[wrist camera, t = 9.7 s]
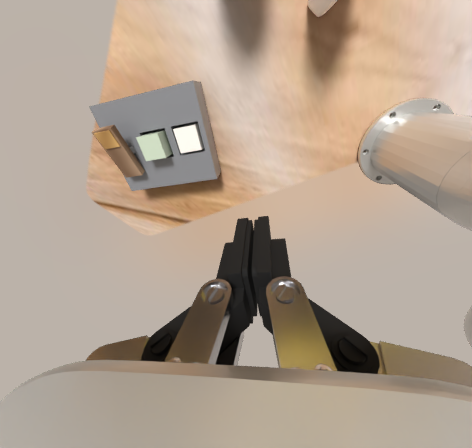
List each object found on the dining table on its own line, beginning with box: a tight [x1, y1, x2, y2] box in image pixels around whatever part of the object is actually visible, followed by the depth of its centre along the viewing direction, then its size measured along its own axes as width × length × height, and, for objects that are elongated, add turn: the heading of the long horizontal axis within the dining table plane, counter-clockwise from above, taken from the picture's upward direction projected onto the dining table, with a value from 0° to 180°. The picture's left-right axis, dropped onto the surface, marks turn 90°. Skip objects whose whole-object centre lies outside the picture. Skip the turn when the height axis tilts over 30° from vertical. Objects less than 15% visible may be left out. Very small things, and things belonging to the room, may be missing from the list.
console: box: [90, 81, 221, 191], centre depth 33 cm, size 17×14×5 cm
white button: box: [173, 123, 204, 153], centre depth 32 cm, size 4×4×3 cm
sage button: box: [136, 130, 173, 161], centre depth 31 cm, size 4×4×3 cm
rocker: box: [92, 125, 145, 178], centre depth 31 cm, size 3×8×1 cm, turn 11°
